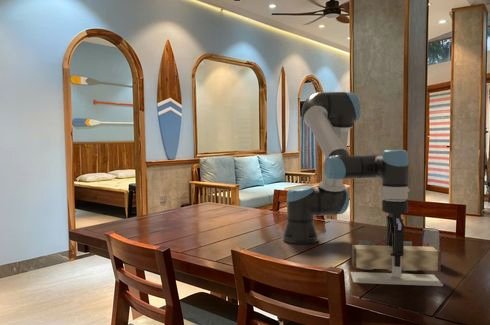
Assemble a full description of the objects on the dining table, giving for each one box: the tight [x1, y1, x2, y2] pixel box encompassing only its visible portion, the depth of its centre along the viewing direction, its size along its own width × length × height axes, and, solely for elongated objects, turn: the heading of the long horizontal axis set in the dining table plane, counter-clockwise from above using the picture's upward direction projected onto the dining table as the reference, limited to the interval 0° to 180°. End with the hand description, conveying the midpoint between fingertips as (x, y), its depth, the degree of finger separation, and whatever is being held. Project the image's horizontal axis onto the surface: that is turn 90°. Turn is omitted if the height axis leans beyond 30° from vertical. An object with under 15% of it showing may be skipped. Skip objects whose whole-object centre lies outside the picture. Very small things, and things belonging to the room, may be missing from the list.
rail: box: [351, 244, 442, 272], centre depth 127 cm, size 26×5×6 cm, turn 81°
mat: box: [350, 271, 444, 287], centre depth 127 cm, size 26×9×1 cm, turn 81°
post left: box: [358, 240, 374, 271], centre depth 140 cm, size 4×7×8 cm, turn 171°
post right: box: [403, 241, 418, 272], centre depth 138 cm, size 4×7×8 cm, turn 171°
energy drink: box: [421, 227, 440, 250], centre depth 143 cm, size 5×5×12 cm
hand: (394, 272), depth 127 cm, fingers closed on rail, 5 cm apart
